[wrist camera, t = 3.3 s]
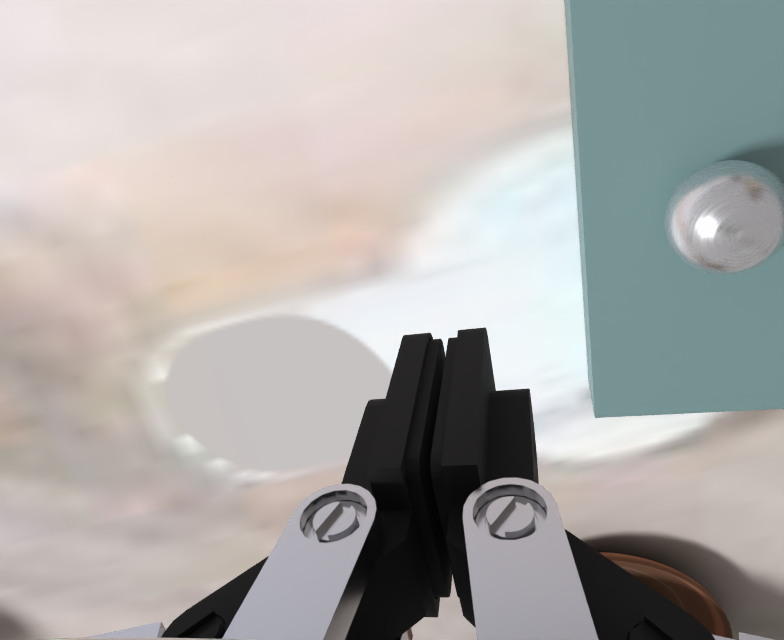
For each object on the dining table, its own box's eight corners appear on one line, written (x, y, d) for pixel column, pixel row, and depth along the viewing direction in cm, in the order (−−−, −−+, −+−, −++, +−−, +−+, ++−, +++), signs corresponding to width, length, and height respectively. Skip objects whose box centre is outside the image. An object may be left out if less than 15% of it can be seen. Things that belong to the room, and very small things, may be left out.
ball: (773, 139, 19) (820, 169, 16) (765, 243, 21) (806, 287, 18) (654, 157, 20) (678, 188, 17) (655, 254, 21) (677, 299, 18)
